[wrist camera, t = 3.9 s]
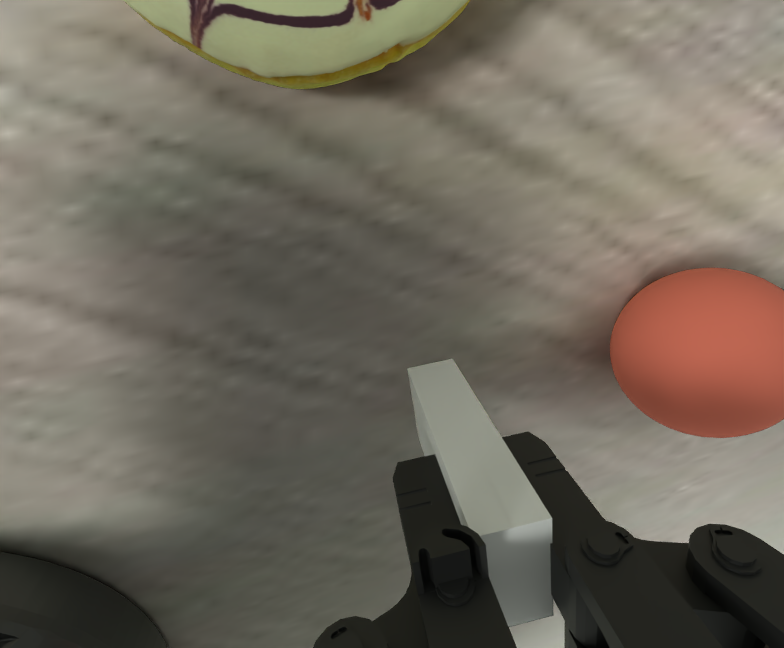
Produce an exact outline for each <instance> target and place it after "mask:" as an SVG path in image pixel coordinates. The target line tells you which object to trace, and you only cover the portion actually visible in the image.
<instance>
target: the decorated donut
mask: <svg viewBox="0 0 784 648" xmlns="http://www.w3.org/2000/svg"><path fill="white" fill-rule="evenodd" d="M124 1H125V2H126V3H127V4H128V5H129V6H130V7H131V8H133V9H134V10H135V11H136V12H137V13H138V14H139V15H141V17H142V18H144V19H145V20H146V21H147V22H148V23H149V24H150V25H152V26H153V27H155V28H156V29H158V30H159V31H161V32H162V33H164V34H165V35H167V36H168V37H170V38H171V39H172V40H173V41H175V42H177V43H179V44H180V45H183V46H185V47H186V48H188V49H189V50H190V51H192V52H194V53H196V54H197V55H199V56H201V57H203V58H204V59H206V60H208V61H210V62H212V63H215V64H217V65H219V66H221V67H223V68H225V69H227V70H229V71H231V72H234V73H237V74H240V75H242V76H245V77H248V78H251V79H253V80H256V81H260V82H264V83H267V84H271V85H275V86H278V87H283V88H291V89H309V88H318V87H326V86H329V85H334V84H338V83H342V82H345V81H349V80H351V79H353V78H355V77H357V76H361V75H365V74H368V73H372V72H376V71H380V70H381V69H383V68H384V67H385V66H386V65H387V64H388V63H394V62H397V61H399V60H401V59H402V58H404V57H405V56H406V55H408V54H410V53H413V52H415V51H416V50H418V49H420V48H421V47H423V46H425V45H426V44H427V43H428V42H429V41H430V40H431V39H432V38H434V37H435V36H436V35H437V34H438V33H439V32H441V31H442V30H443V29H444V28H445V27H447V26H448V25H449V24H450V23H451V22H452V21H453V20H455V19H456V18H457V17H458V16H459V15H460V14H461V13H462V11H463V10H464V9H465V7H466V6H467V5H468V3H469V1H470V0H124Z"/></svg>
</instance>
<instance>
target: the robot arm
mask: <svg viewBox="0 0 784 648" xmlns="http://www.w3.org/2000/svg"><path fill="white" fill-rule="evenodd" d="M407 370H408V377H409V383H410V389H411V395H412V401H413V408H414V414H415V420H416V426H417V432H418V438H419V441H420V444H421V447H422V450H423V453H424V457H420V458H416V459H411V460H407V461H403V462H398V463H397V466H396V470H395V473H394V476H393V482H394V487H395V492H396V497H397V502H398V507H399V512H400V517H401V522H402V527H403V532H404V537H405V541H406V546H407V551H408V555H409V560H410V565H411V570H412V576H411V581H410V585H409V587H408V589H407V591H406V594H405V595H404V596H403V598H402V599H401V600H400V601H399V603H398V604H396V605H395V606H394V607H393V608H392V609H390V610H389V611H388V612H386V613H384V614H383V615H381V616H380V617H378V618H377V619H375V620H374V621H371V620H369V619H366V618H361V617H356V616H354V617H349V618H344V619H340V620H339V621H337V622H335V623H334V624H332V625H331V626H329V627H327V628H326V630H325V631H324V632H323V633H322V634H321V636H320V637H319V638H318V639H317V640H316V642H315V644H314V647H313V648H517V647H516V645H515V642H514V640H513V637H512V635H511V632H510V629H509V627H511V626H515V625H518V624H522V623H526V622H530V621H534V620H537V619H541V618H545V617H549V616H553V599H554V601H555V603H556V605H557V606H558V608H559V610H560V612H561V614H562V616H563V618H564V620H565V648H784V555H783V554H782V553H780V552H779V551H777V550H776V549H774V548H773V547H771V546H770V545H768V544H767V543H765V542H764V541H762V540H761V539H759V538H757V537H755V536H754V535H752V534H750V533H748V532H746V531H744V530H742V529H738V528H735V527H731V526H728V525H720V524H708V525H704V526H701V527H698V528H696V529H695V530H694V532H693V533H692V534H691V535H690V539H689V543H672V542H654V541H647V540H641V539H637V538H634V537H633V536H632V535H631V534H630V533H629V532H628V531H627V530H625V529H624V528H622V527H620V526H618V525H616V524H614V523H612V522H608V521H606V520H605V519H604V518H603V517H602V516H601V515H600V513H599V512H598V511H597V510H596V508H595V507H594V506H593V504H592V503H591V502H590V500H589V499H588V498H587V496H586V495H585V494H584V492H583V491H582V490H581V489H580V487H579V486H578V485H577V483H576V482H575V481H574V479H573V478H572V477H571V475H570V474H569V473H568V471H566V470H565V468H564V466H563V465H562V464H561V462H560V461H559V460H558V459H556V456H555V454H554V453H553V452H552V450H551V449H550V448H549V447H548V445H547V444H546V443H545V442H544V441H543V440H541V439H539V438H538V437H536V436H535V435H533V434H531V433H530V432H524V433H520V434H515V435H511V436H506V437H501V435H500V434H499V432H498V431H497V429H496V427H495V426H494V424H493V423H492V421H491V419H490V418H489V416H488V415H487V413H486V411H485V410H484V408H483V407H482V405H481V403H480V402H479V400H478V399H477V397H476V395H475V394H474V392H473V391H472V389H471V387H470V386H469V384H468V382H467V381H466V379H465V378H464V376H463V374H462V373H461V371H460V370H459V368H458V366H457V365H456V363H455V362H454V360H453V359H449V360H444V361H439V362H434V363H430V364H425V365H420V366H416V367H411V368H407ZM0 648H167V646H166V644H165V642H164V640H163V638H162V636H161V634H160V633H159V631H158V630H157V628H156V627H155V626H154V624H153V623H152V622H151V621H150V619H149V618H148V617H147V616H146V615H145V614H144V613H143V612H142V611H141V610H140V609H139V608H138V607H136V606H135V605H134V604H133V603H131V602H130V601H129V600H128V599H126V598H125V597H123V596H122V595H121V594H119V593H118V592H116V591H114V590H113V589H111V588H109V587H108V586H106V585H104V584H102V583H100V582H98V581H96V580H94V579H92V578H90V577H88V576H85V575H83V574H81V573H78V572H76V571H73V570H71V569H68V568H65V567H62V566H59V565H56V564H53V563H49V562H46V561H42V560H38V559H34V558H30V557H25V556H21V555H15V554H9V553H3V552H0Z"/></svg>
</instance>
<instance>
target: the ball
mask: <svg viewBox="0 0 784 648" xmlns="http://www.w3.org/2000/svg"><path fill="white" fill-rule="evenodd" d="M610 358H611V364H612V368H613V371H614V374H615V377H616V379H617V381H618V383H619V385H620V387H621V389H622V390H623V392H624V393H625V394H626V396H627V397H628V398H629V399H630V401H631V402H632V403H633V404H634V405H635V406H636V407H637V408H638V409H640V410H641V411H642V412H643V413H644V414H646V415H647V416H649V417H650V418H652V419H653V420H655V421H657V422H658V423H660V424H662V425H664V426H666V427H668V428H671V429H674V430H677V431H680V432H682V433H686V434H691V435H696V436H701V437H714V438H727V437H737V436H743V435H748V434H751V433H755V432H758V431H761V430H764V429H766V428H769V427H771V426H773V425H775V424H776V423H778V422H780V421H781V420H783V419H784V291H783V290H782V289H781V288H779V287H777V286H776V285H774V284H772V283H770V282H768V281H767V280H765V279H763V278H760V277H757V276H755V275H752V274H749V273H746V272H742V271H737V270H732V269H725V268H698V269H690V270H685V271H681V272H677V273H674V274H670V275H668V276H665V277H663V278H660V279H658V280H656V281H655V282H653V283H651V284H649V285H648V286H646V287H645V288H643V289H642V290H641V291H639V292H638V293H637V294H636V295H635V296H634V297H633V298H632V299H631V300H630V301H629V302H628V303H627V304H626V306H625V307H624V308H623V310H622V311H621V313H620V314H619V316H618V318H617V320H616V322H615V325H614V328H613V331H612V335H611V341H610Z"/></svg>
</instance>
